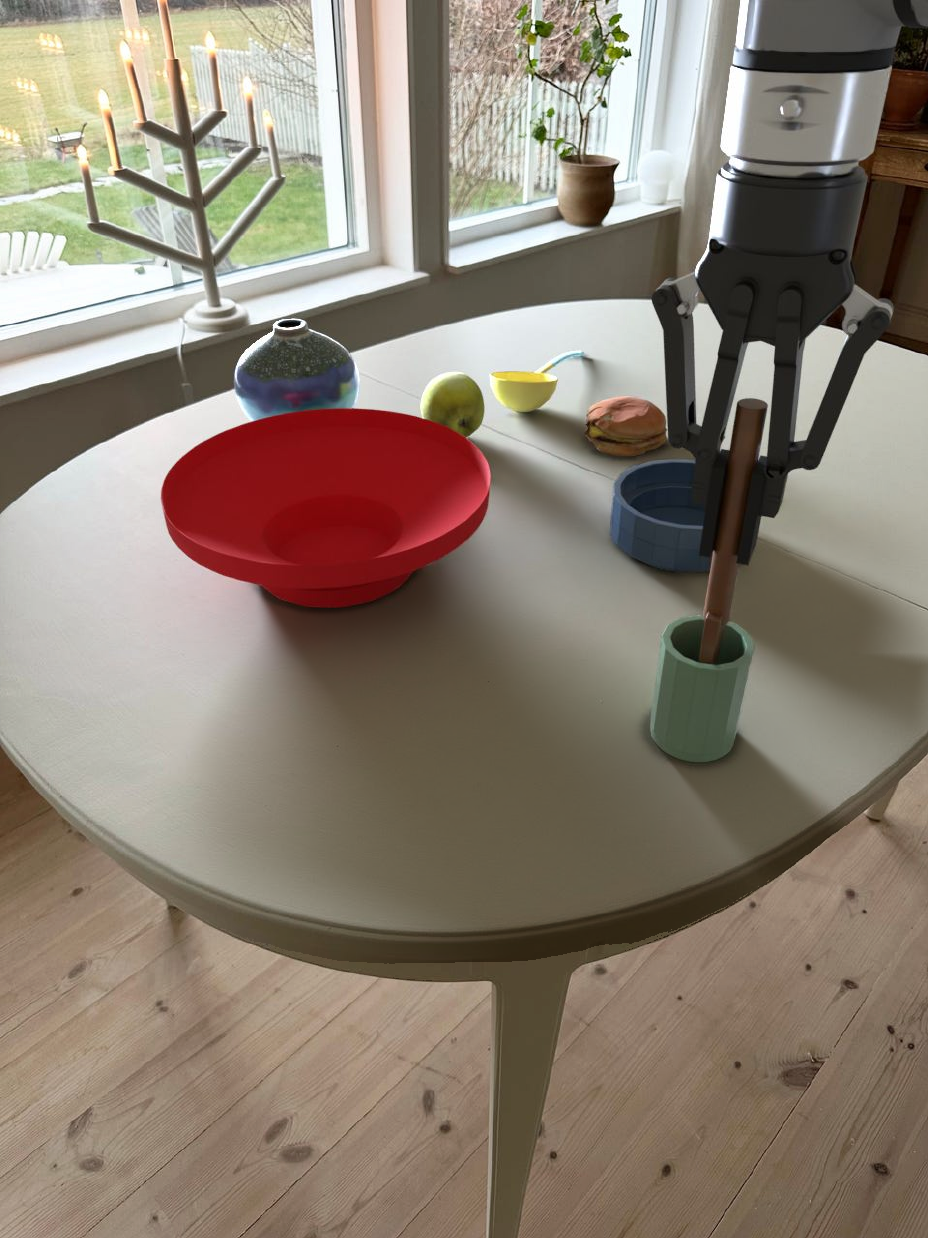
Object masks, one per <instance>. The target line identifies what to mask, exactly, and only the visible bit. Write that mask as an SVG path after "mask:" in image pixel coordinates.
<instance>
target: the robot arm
mask: <svg viewBox="0 0 928 1238" xmlns="http://www.w3.org/2000/svg"><path fill="white" fill-rule="evenodd" d="M902 27H906V28H909V29H928V0H740V5H739V13H738V22H737V29H736V30H737V32H736V41H735V45H734V50H733V56H732V64H731V66H730V71H729V72H730V73H729V81H728V88H727V96H726V103H725V111H724V119H723V125H722V126H723V127H722V133H721V141H720V148H721V150H722V152H723V153H724V155H726V156H727V157H729V161H727V162H725V163H724V164H723V165H722V166H721V168H720V169H718V171H717V173H716V174H717V175H716V182H715V189H714V197H713V206H712V212H711V214H712V215H711V221H710V229H709V235H708V236H709V237H708V243H707V247H706V250H705V252H704V254H703V255H702V257H701V259H700V260H699V261H698V262H697V265H696V268H695V271H693V272H690V273H688V274H686V275H684V276H681V277H679V278H677V277H673V276H671V277H668V278H667V279H665V280H664V281H663V282H662V283H661V284H660V285H659V286H658V288H656V289H655V290H654V292H653V293H652V295H651V304H652V307H653V309H654V312H655V313H656V316H657V318H658V321H659V324H660V326H661V328H662V332H663V333H662V334H663V356H664V357H663V358H664V378H665V400H666V401H665V402H666V404H665V405H666V427H667V441H668V444H669V445H670V446H671V448H674V449H678V450H679V449H684V451H687V452H689V453H690V454H691V455H692V456H693V458H694V460H695V469H694V476H693V484H692V491H691V499H692V502H693V504H698V505H704V506H706V510H705V517H704V523H703V530H702V537H701V543H700V550H699V556H704V557H709V558H710V557H711V555H712V552H713V550H714V545H715V539H716V532H717V526H718V520H719V514H720V507H721V501H722V495H723V489H724V482H725V476H726V470H727V464H728V456H729V450H730V449H724V448H722V445H723V443H724V440H725V438H726V436H725V434H726V430H727V427H728V422H729V419H730V415H731V411H732V406H733V404H734V400H735V395H736V391H737V389H738V388H737V387H738V383H739V379H740V375H741V372H742V368H743V365H744V360H745V356H746V352H747V349H748V346H749V343H755V342H756V343H757V342H762V343H765V344H767V345H770V346H772V347H774V353H773V365H774V367H773V380H772V381H773V382H772V392H771V403H770V416H769V427H768V439H767V451H766V455H760V454H759V458H758V464H757V465H756V466H755V468H754V471H753V473H752V478H751V483H750V489H749V495H748V500H747V506H746V511H745V517H744V523H743V528H742V534H741V540H740V545H739V551H738V557H737V562H736V563H738V564H739V565H743V566H749V564H750V562H751V560H752V557H753V554H754V552H755V549H756V546H757V542H758V537H759V532H760V526H761V521H762V517H765V518H771V519H775V517H776V516H777V515H778V514H779V512H780V510H781V507H782V504H783V501H784V496H785V491H786V485H787V480H788V477H789V473H790V472H792V471H794V470H799V469H804V470H806V471H814V470H816V469H817V468H818V467H819V466H820V464H821V463H822V460H823V457H824V454H825V452H826V451H827V447H828V445H829V442H830V440H831V437H832V435H833V432H834V430H835V428H836V426H837V423H838V420H839V418H840V415H841V413H842V411H843V409H844V405H845V403H846V400H847V398H848V396H849V394H850V392H851V389H852V386H853V383H854V382H855V379H856V377H857V374H858V371H859V369H860V367H861V364H862V361H863V359H864V357H865V355H866V354H867V352H868V351H869V350H870V349H871V348H872V347H873V346H874V344H875V343H876V342H877V341H878V340H879V339H880V337H881V336H882V335H883V334H884V333H885V332H886V331H887V330H888V328H889V326H890V325H891V321H892V317H893V314H894V309H895V307H894V305H893V302H892V301H891V300H890V299H888V298H885V297H884V298H878V299H877V298H875V297H874V296H872V295H871V294H870V293H868V292H867V291H866V290H864V289H862V288H861V287H860V286H858V285H857V284H856V283H857V272H856V270H855V266H854V261H853V249H854V244H855V239H856V235H857V230H858V225H859V221H860V217H861V211H862V207H863V203H864V202H863V201H864V197H865V193H866V188H867V183H868V180H869V179H868V178H869V176H868V174H867V173H866V172H865V171H866V170H865V168H863V167H862V166H860V165H859V162H861V161H864V160H866V159H867V158H868V157H870V156H871V155H872V154H873V153H874V151H875V147H876V142H877V138H878V133H879V129H880V125H881V119H882V115H883V111H884V106H885V101H886V97H887V92H888V89H889V83H890V78H891V74H892V69H893V62H894V57H895V53H896V47H897V43H898V39H899V36H900V32H901V28H902ZM699 292H701V294H702V296H703V297H704V300H705V302H706V303H707V306H708V307H709V309H710V311H711V312H712V314H713V316H714V318H715V320H716V322H717V323H718V325H719V327H720V330H722V332H721V337H720V341H719V344H718V345H719V346H718V350H717V359H716V363H715V368H714V372H713V376H712V381H711V385H710V389H709V393H708V397H707V401H706V404H705V405H706V406H705V410H704V414H703V417H702V418H703V419H702V423H701V425H700V424H698V423H697V399H696V398H697V397H696V396H697V395H696V394H697V393H696V361H695V360H696V359H695V358H696V357H695V326H694V316H693V312H694V311H695V310H696V309H697V307H698V306H699V298H698V297H699ZM841 306H842V308H844V312H845V315H844V318H843V320H842V322H841V328H842V331H843V333H845V334H846V335H847V336H846V338H845V340H844V342H843V344H842V347H841V350H840V352H839V355H838V358H837V361H836V363H835V365H834V368H833V370H832V373H831V376H830V379H829V381H828V383H827V386H826V389H825V391H824V393H823V396H822V398H821V401H820V403H819V406H818V409H817V412H816V414H815V417H814V418H813V422H812V424H811V427H810V429H809V431H808V435H807V437H806V439H805V440H804V439H803V440H797V441H795V437H796V427H797V418H798V408H799V398H800V389H801V388H800V387H801V377H802V369H803V358H804V351H805V347H806V346H805V345H806V340H807V338H808V337H809V336H810V335H811V334H812V333H814V332H815V330H817V329H818V328H819V327H820V326H821V325H822V324H823V323H824V322H825V321H826V320H828V318H829V317H831V315H832V314H833V313H834V312H836V310H838V309H839V308H840V307H841Z"/></svg>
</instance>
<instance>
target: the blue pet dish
mask: <svg viewBox="0 0 928 1238" xmlns="http://www.w3.org/2000/svg"><path fill="white" fill-rule="evenodd" d="M694 469H695V459H676V458H675V459H673V458H672V459H671V458H669V459H661V460H651V461H647V462H644V463H641V464H637V465H634V466H631V467H630V468H628V469H626V470H625V471H623V472H621V473H619V476H618V477H617V478H616V480H615V481H614V483H613V488H612V499H611V508H610V521H609V535H610V537H611V538H612V540H613V541H614V543H615V544H616V546H617V547H618V548H619V549H620V550H622V552H624V553H626V554H627V555H628V556H630V557H631V558H633V559H635V560H638V561H639V562H641V563H644V564H646V565H647V566H651V567H654V568H657V569H661V570H665V571H671V572H677V573H703V572H704V573H705V572H710V569H711V563H712V556H713V552H712V555H711V557H710V558H709V557H704V556H699V550H700V543H701V537H702V530H703V523H704V517H705V510H706V506H704V505H698V504H693V502H692V499H691V491H692V484H693V476H694Z"/></svg>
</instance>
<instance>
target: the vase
mask: <svg viewBox="0 0 928 1238" xmlns="http://www.w3.org/2000/svg"><path fill="white" fill-rule="evenodd" d="M272 326H273V327H272V329H273V330H272V332H270V333H268V334H267V335H264V336H263V337H261V338H260V339H259V340H257V341H256V342H255V343H253V344H252V345H251V346H250V347H249V348H247V349H246V350H245V351H244V353H243V354H242V355H241V356H240V358H239V359H238V362H237V364H236V366H235V370H234V375H233V386H234V392H235V396H236V399H237V403H238V404H239V407H240V408H241V410H242V411H243V414H244V415H245V416H246V417H247V419H249V420H250V422H252V421H255V420H259V419H262V418H267V417H271V416H275V415H280V414H286V413H292V412H299V411H307V410H317V409H336V408H355V406H356V403H357V401H358V398H359V393H360V374H359V369H358V367H357V363H356V361H355V359H354V357H353V356H352V355H351V353H350V352H349V350H347V349H346V347H345V346H343V344H341V343H340V342H339V341H337V340H335V339H333V338H331V337H329V336H328V335H325V334H324V333H320V332H318V331H315V330H312V329H310V328H309V326H308V323H307V321H306V320H303V319H300V318H291V319H290V318H289V319H281V320H279V321H276V322H275V323H274V324H273V325H272Z"/></svg>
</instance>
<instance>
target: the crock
mask: <svg viewBox="0 0 928 1238" xmlns="http://www.w3.org/2000/svg"><path fill="white" fill-rule="evenodd" d="M704 625H705V621H704V620H703V614H694V615H687V616H682V617H678V618H677V619H675V620H673V621H672V622H670V623H668V624H667V625H666V627H665V628H664V631H663V633H662V635H661V640H660V646H659V653H658V662H657V669H656V676H655V682H654V689H653V690H654V691H653V697H652V704H651V711H650V719H649V720H650V724H649V732H650V736H651V738H652V740H653V742H654V743H655V744H656V746H657V747H659V749H661V751H663V752H664V753H666V754H667V755H669V756H671V757H673V758H675V759H678V760H680V761H681V760H682V761H685V762H690V763H709V762H713V761H716V760H720V759H721V758H723V757H725V756H727V754H729V752H730V751H731V750H732V748H733V747H734V744H735V740H736V736H737V732H738V728H739V723H740V719H741V714H742V709H743V705H744V701H745V697H746V692H747V687H748V684H749V683H748V682H749V678H750V673H751V668H752V663H753V660H754V654H755V650H756V646H755V643H754V640H753V639H752V636H751V635H750V633H748V632H747V631H746V630H745V629H744V628H742V627H741V626H740V625H739V624H737V623H735V622H732V621H730V620H729V622H728V623H727V624H726V625H725V627H724V632H723V638H722V644H721V649H720V654H719V656H718V659H717V661H716V664H715V665H713V664H704V663H698V662H699V656H700V649H701V643H702V637H703V631H704Z"/></svg>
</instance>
